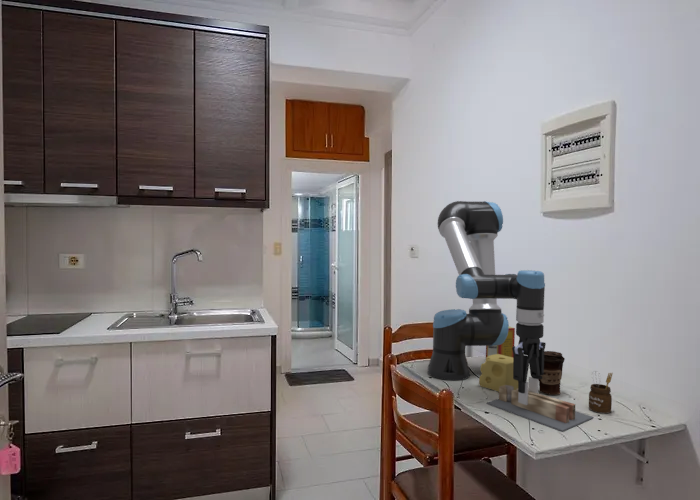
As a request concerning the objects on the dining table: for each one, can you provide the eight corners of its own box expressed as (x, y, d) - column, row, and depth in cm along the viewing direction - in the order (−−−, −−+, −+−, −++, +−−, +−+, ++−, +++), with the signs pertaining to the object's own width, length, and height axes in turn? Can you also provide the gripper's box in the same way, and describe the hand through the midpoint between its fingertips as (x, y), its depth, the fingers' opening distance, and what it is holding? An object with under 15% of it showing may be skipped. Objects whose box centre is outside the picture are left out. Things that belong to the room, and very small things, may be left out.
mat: (486, 403, 139) (486, 402, 139) (518, 393, 148) (518, 392, 148) (562, 431, 119) (562, 430, 119) (593, 418, 129) (593, 416, 128)
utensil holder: (598, 405, 139) (599, 366, 138) (617, 412, 133) (618, 371, 133) (583, 407, 137) (584, 367, 136) (601, 415, 131) (603, 373, 130)
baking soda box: (513, 368, 177) (514, 327, 177) (498, 369, 176) (499, 327, 175) (500, 361, 186) (500, 322, 186) (485, 362, 185) (486, 323, 184)
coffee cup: (567, 398, 145) (568, 357, 144) (539, 395, 146) (540, 355, 146) (560, 389, 153) (561, 350, 153) (533, 387, 155) (534, 349, 154)
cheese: (478, 386, 155) (479, 357, 155) (497, 380, 162) (498, 352, 161) (505, 395, 147) (506, 364, 147) (524, 388, 153) (525, 359, 153)
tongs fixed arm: (498, 399, 141) (498, 385, 141) (505, 397, 143) (505, 383, 143) (565, 423, 124) (566, 407, 124) (572, 420, 126) (573, 404, 126)
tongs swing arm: (515, 402, 139) (515, 389, 139) (518, 401, 140) (518, 388, 140) (572, 419, 126) (572, 405, 126) (575, 418, 127) (575, 404, 127)
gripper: (523, 328, 127) (521, 411, 127) (558, 322, 137) (556, 399, 137) (500, 324, 133) (499, 403, 133) (535, 318, 143) (533, 392, 144)
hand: (528, 401), depth 135 cm, fingers open, 4 cm apart
